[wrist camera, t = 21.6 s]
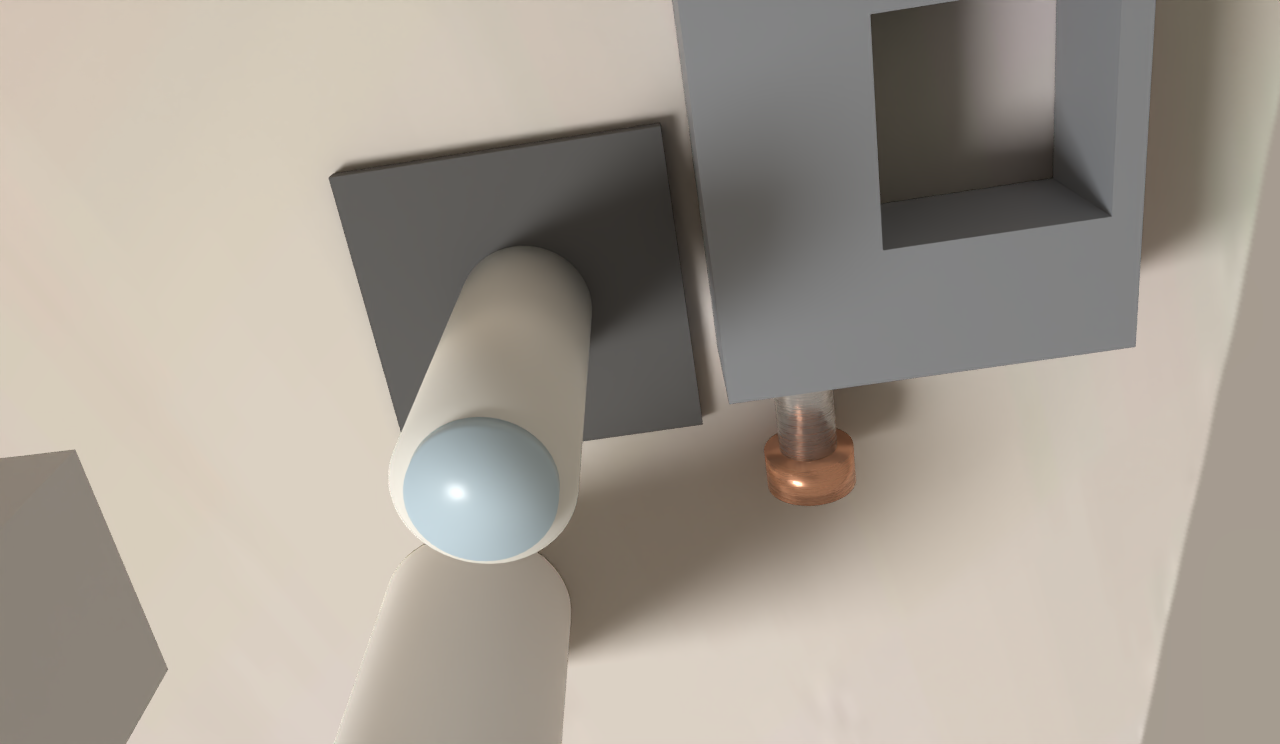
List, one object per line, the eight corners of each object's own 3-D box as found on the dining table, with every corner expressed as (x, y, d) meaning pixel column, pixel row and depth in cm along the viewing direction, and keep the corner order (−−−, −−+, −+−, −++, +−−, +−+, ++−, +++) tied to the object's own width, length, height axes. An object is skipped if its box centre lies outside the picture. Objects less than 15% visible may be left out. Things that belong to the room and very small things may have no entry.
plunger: (734, 221, 37) (744, 250, 34) (827, 207, 37) (846, 235, 34) (763, 465, 42) (774, 511, 39) (846, 454, 41) (864, 498, 38)
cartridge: (434, 322, 39) (347, 516, 26) (506, 219, 37) (449, 373, 25) (543, 392, 40) (509, 606, 28) (618, 294, 39) (616, 476, 26)
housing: (668, -31, 34) (674, -20, 30) (1089, -100, 34) (1161, -99, 29) (717, 347, 40) (729, 404, 36) (1076, 295, 39) (1135, 346, 35)
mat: (333, 173, 37) (328, 177, 37) (659, 122, 36) (660, 126, 36) (413, 458, 42) (410, 465, 42) (701, 417, 41) (702, 424, 41)
